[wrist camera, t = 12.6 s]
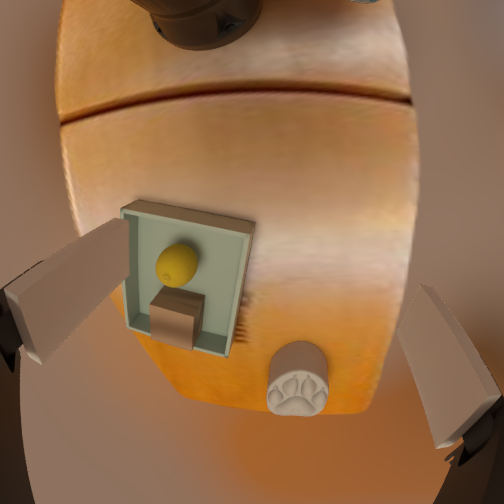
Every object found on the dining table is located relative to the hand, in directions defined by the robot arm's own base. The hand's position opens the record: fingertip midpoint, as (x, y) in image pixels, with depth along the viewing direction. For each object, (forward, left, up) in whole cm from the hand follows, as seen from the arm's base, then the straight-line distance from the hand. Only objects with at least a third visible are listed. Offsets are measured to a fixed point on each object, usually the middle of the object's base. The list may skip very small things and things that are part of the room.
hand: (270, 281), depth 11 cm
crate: (+17, -12, -27) cm, 34 cm away
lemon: (+13, -12, -26) cm, 32 cm away
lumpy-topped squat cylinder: (+31, +10, -27) cm, 43 cm away
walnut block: (+23, -12, -26) cm, 37 cm away
